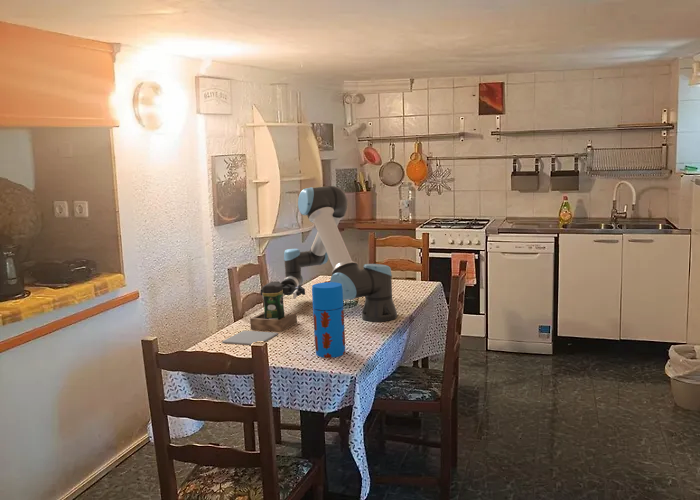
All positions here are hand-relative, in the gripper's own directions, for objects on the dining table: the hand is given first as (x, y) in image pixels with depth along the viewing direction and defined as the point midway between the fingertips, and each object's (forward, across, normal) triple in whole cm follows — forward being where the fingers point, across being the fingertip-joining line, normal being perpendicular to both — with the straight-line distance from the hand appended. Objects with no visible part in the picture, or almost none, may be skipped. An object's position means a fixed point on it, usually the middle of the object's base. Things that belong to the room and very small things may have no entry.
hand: (278, 296), depth 292 cm
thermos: (+49, -30, -11) cm, 58 cm away
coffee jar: (+10, 0, -11) cm, 15 cm away
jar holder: (+10, 0, -10) cm, 14 cm away
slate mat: (+29, +5, -10) cm, 31 cm away
